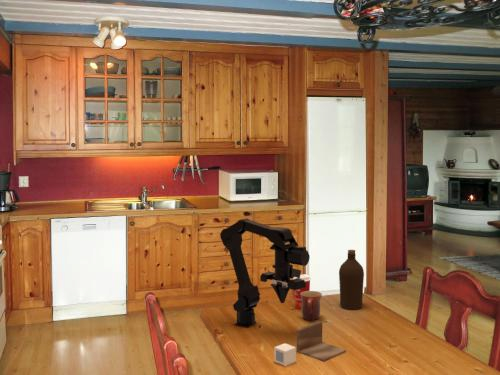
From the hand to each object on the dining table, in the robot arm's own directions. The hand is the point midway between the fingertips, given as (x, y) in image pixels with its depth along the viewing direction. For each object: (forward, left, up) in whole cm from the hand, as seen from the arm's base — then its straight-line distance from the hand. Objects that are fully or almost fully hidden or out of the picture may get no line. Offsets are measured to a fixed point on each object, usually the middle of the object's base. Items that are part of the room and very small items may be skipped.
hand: (282, 302), depth 204 cm
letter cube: (+13, -22, -12) cm, 28 cm away
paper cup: (-8, +32, -12) cm, 35 cm away
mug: (+2, +20, -12) cm, 23 cm away
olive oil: (+10, +44, -12) cm, 47 cm away
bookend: (+20, -8, -12) cm, 25 cm away
